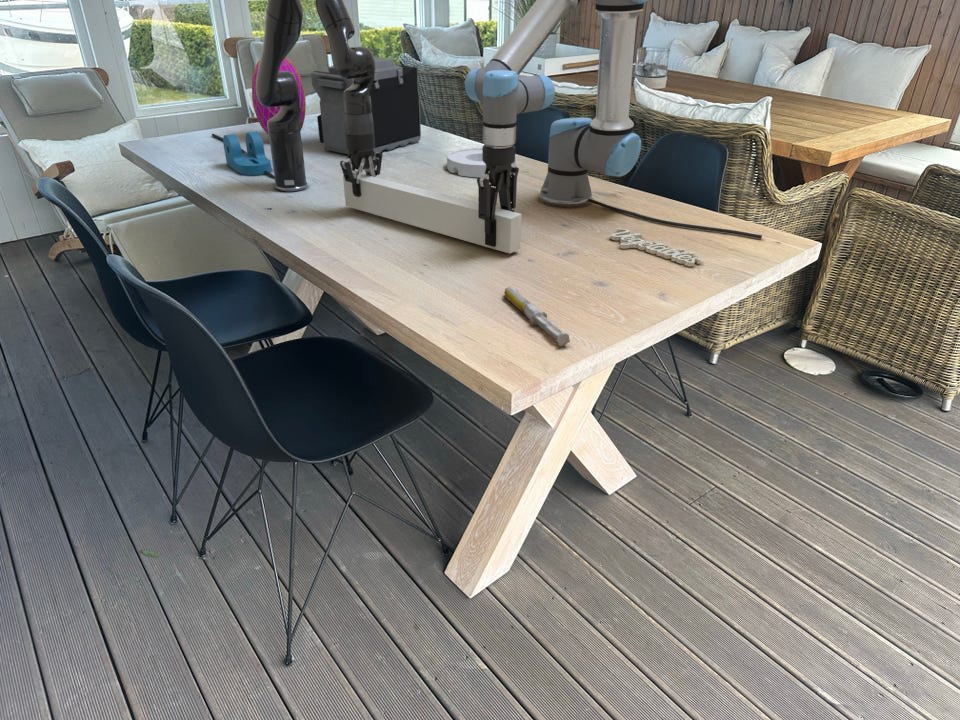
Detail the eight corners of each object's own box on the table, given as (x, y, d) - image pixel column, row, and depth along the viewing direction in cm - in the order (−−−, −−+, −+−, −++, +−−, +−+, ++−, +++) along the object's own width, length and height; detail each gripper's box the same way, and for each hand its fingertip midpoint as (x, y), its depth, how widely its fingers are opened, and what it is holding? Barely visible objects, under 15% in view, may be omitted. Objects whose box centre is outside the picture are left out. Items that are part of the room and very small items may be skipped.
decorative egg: (293, 132, 276) (283, 50, 261) (319, 140, 264) (310, 56, 249) (249, 139, 265) (236, 54, 250) (273, 148, 253) (261, 60, 238)
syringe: (499, 294, 146) (500, 282, 144) (516, 291, 147) (516, 279, 146) (552, 349, 126) (553, 336, 125) (570, 345, 127) (571, 332, 126)
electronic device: (383, 133, 276) (378, 52, 261) (425, 141, 265) (422, 56, 250) (314, 150, 251) (304, 61, 235) (358, 160, 240) (350, 67, 224)
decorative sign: (596, 235, 174) (621, 227, 180) (596, 239, 175) (620, 230, 181) (684, 266, 157) (708, 256, 163) (684, 270, 158) (708, 260, 164)
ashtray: (449, 158, 243) (449, 147, 241) (514, 159, 242) (515, 148, 240) (444, 176, 223) (444, 164, 221) (515, 178, 222) (516, 165, 220)
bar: (520, 248, 167) (521, 213, 162) (509, 253, 164) (511, 218, 159) (357, 202, 195) (354, 171, 191) (345, 206, 192) (342, 175, 188)
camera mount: (227, 164, 233) (221, 132, 227) (257, 160, 238) (252, 129, 233) (244, 176, 220) (239, 143, 215) (276, 172, 225) (271, 139, 220)
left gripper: (368, 123, 187) (372, 185, 196) (329, 132, 177) (335, 197, 186) (388, 127, 183) (392, 190, 192) (349, 137, 173) (354, 203, 182)
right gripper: (507, 135, 163) (505, 229, 175) (461, 149, 151) (462, 249, 163) (534, 140, 160) (529, 235, 172) (489, 155, 147) (487, 256, 159)
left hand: (364, 193), depth 189 cm, fingers closed on bar, 4 cm apart
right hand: (496, 241), depth 167 cm, fingers open, 5 cm apart
